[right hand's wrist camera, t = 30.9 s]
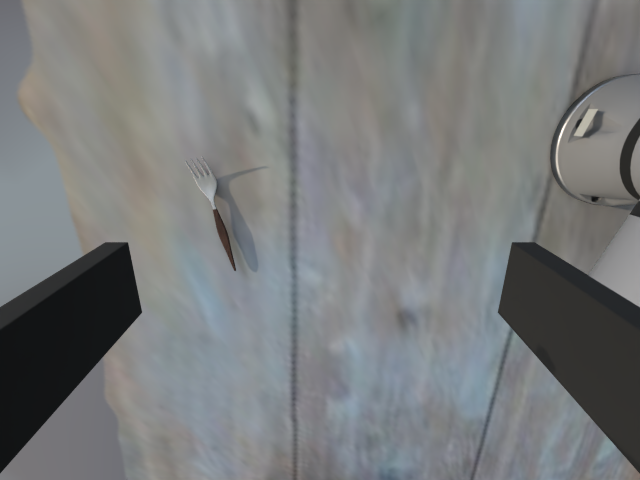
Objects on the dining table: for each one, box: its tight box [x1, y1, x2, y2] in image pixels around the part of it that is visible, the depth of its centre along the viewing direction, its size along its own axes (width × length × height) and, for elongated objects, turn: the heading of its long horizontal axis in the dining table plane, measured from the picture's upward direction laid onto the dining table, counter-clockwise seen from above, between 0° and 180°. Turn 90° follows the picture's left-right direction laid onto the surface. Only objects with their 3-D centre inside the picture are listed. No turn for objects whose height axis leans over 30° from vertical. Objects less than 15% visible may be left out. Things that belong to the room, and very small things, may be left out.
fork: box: [185, 157, 236, 271], centre depth 46 cm, size 3×16×2 cm, turn 12°
